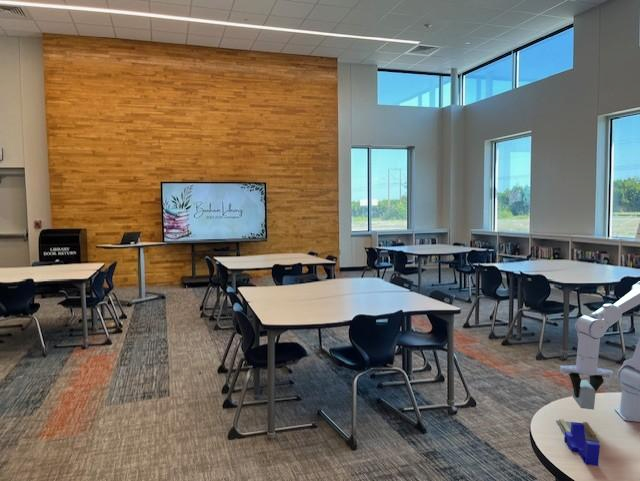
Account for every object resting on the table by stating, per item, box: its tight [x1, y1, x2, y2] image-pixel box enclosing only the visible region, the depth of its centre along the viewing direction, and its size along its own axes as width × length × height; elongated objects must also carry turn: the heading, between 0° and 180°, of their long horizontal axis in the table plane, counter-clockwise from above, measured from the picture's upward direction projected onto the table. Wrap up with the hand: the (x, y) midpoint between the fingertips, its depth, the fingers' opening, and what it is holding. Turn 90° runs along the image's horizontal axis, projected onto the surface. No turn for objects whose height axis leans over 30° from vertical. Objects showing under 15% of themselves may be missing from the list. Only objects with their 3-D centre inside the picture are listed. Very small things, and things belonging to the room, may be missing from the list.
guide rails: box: [558, 418, 598, 439], centre depth 142 cm, size 8×8×1 cm
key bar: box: [572, 379, 597, 410], centre depth 147 cm, size 8×4×6 cm, turn 168°
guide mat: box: [555, 419, 600, 443], centre depth 143 cm, size 9×10×1 cm
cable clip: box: [563, 421, 601, 467], centre depth 131 cm, size 12×4×6 cm, turn 171°
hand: (583, 397), depth 147 cm, fingers closed on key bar, 4 cm apart
